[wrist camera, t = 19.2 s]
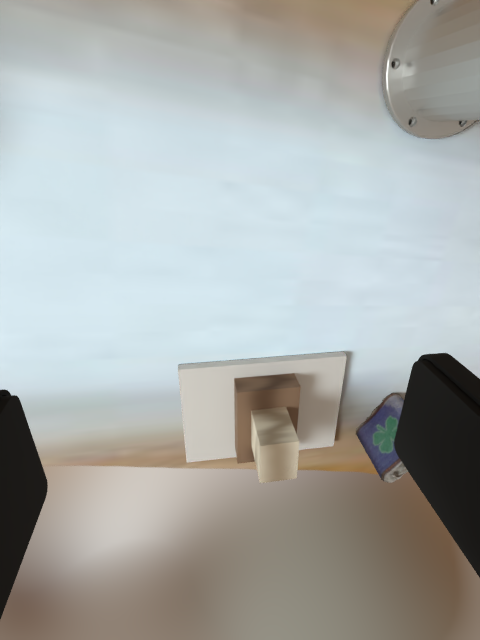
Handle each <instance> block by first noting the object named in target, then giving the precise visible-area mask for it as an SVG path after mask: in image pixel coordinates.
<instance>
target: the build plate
mask: <svg viewBox="0 0 480 640" xmlns="http://www.w3.org/2000/svg"><path fill="white" fill-rule="evenodd" d="M346 358H347V356H346V354H345V353H344V352H343V351H342V352H329V353H317V354H304V355H292V356H279V357H267V358H254V359H242V360H229V361H217V362H204V363H191V364H179V365H178V374H179V384H180V395H181V406H182V417H183V427H184V438H185V449H186V459H187V462H195V461H204V460H213V459H222V458H231V457H237V456H236V450H235V412H234V378H243V377H255V376H267V375H278V374H290V373H294V374H295V376H296V378H297V380H298V382H299V384H300V386H301V390H300V402H299V413H298V424H297V437H298V439H299V450H302V449H311V448H320V447H329V446H333V445H334V438H335V432H336V425H337V418H338V412H339V405H340V398H341V392H342V385H343V378H344V372H345V365H346Z"/></svg>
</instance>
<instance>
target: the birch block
mask: <svg viewBox="0 0 480 640" xmlns="http://www.w3.org/2000/svg"><path fill="white" fill-rule="evenodd" d="M251 440H252V450H253V454H254V459H255V463H256V468H257V472H258V477H259V480H260V483H265V482H272V481H280V480H287V479H295V478H297V467H298V453H299V439H298V437H297V434H296V431H295V429H294V426H293V424H292V421H291V418H290V416H289V413H288V411H287V408H286V407H280V408H271V409H262V410H253V411H251Z"/></svg>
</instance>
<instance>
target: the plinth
mask: <svg viewBox="0 0 480 640" xmlns="http://www.w3.org/2000/svg"><path fill="white" fill-rule="evenodd" d="M300 390H301V386H300V384H299V382H298V380H297V378H296V376H295V374H294V373H290V374H278V375H267V376H255V377H243V378H234V412H235V450H236V456H237V462H238V463H245V462H254V461H255V459H254V454H253V450H252V440H251V411H253V410H262V409H271V408H280V407H286V408H287V411H288V413H289V416H290V418H291V421H292V424H293V426H294V429H295V431H296V434H297V424H298V413H299V402H300Z"/></svg>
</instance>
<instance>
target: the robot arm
mask: <svg viewBox="0 0 480 640" xmlns="http://www.w3.org/2000/svg"><path fill="white" fill-rule="evenodd" d="M391 63H393V67H391ZM382 87H383V94H384V99H385V102H386V106H387V109H388V111H389V113H390V114H391V116H392V118H393V120H394V121H395V122H396V123H397V124H398V126H399V127H400V128H401V129H403V130H404V131H406V132H407V133H409V134H411V135H413V136H416V137H419V138H427V139H439V138H444V137H448V136H452V135H454V134H456V133H458V132H461V131H462V130H464V129H465V128H467V127H468V126H470V125H471V124H473V123H474V122H475V121H476V120H480V0H431V3H430V0H417V1H416V2H415V3H414V4H413V5H412V6H411V7H410V8H409V9H408V10H407V11H406V13H405V14H404V15H403V17H402V18H401V20H400V21H399V23H398V24H397V26H396V28H395V30H394V32H393V34H392V36H391V38H390V41H389V44H388V47H387V50H386V53H385V58H384V64H383V70H382ZM409 120H410V123H408V122H409ZM394 447H395V451H396V453H397V455H398V457H399V458H400V460H401V461H402V463H403V464H404V466H405V467H406V469H407V470H408V472H409V473H410V475H411V476H412V478H413V479H414V480H415V482H416V483H417V485H418V487H419V488H420V490H421V491H422V493H423V494H424V495H425V497H426V498H427V500H428V501H429V503H430V504H431V506H432V507H433V509H434V510H435V512H436V513H437V515H438V516H439V518H440V519H441V521H442V522H443V524H444V525H445V527H446V528H447V530H448V531H449V533H450V534H451V536H452V537H453V539H454V540H455V542H456V543H457V544H458V546H459V547H460V549H461V550H462V552H463V553H464V555H465V556H466V558H467V559H468V561H469V562H470V564H471V565H472V567H473V568H474V570H475V571H476V573H477V574H478V576H479V577H480V379H479V378H478V377H477V376H475V375H474V374H473V373H472V372H470V371H469V370H468V369H467V368H466V367H464V366H463V365H462V364H461V363H459V362H458V361H457V360H456V359H455V358H453V357H452V356H451V355H449V354H447V353H438V354H426V355H422V356H421V357H420V358H419V360H418V361H416V362H415V363H414V364H413V367H412V371H411V375H410V379H409V383H408V387H407V391H406V395H405V399H404V403H403V407H402V411H401V415H400V419H399V423H398V427H397V431H396V435H395V439H394ZM46 494H47V479H46V476H45V473H44V470H43V467H42V464H41V461H40V458H39V455H38V452H37V449H36V446H35V443H34V441H33V438H32V435H31V432H30V429H29V426H28V423H27V420H26V417H25V414H24V411H23V408H22V405H21V402H20V400H19V398H18V397H17V396H15V395H14V396H11V394H10V393H9V392H8V391H7V390H0V619H1V616H2V614H3V611H4V608H5V605H6V603H7V600H8V597H9V595H10V592H11V589H12V587H13V584H14V581H15V579H16V576H17V573H18V570H19V568H20V565H21V563H22V560H23V557H24V554H25V552H26V549H27V546H28V544H29V541H30V538H31V536H32V533H33V530H34V528H35V525H36V522H37V520H38V517H39V514H40V511H41V509H42V506H43V503H44V501H45V498H46Z"/></svg>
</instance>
